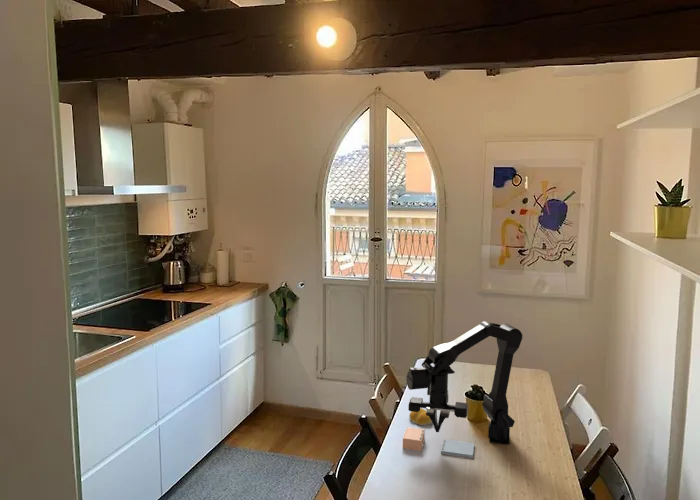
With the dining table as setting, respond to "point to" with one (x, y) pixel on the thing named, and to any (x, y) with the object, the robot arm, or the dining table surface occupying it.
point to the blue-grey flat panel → (457, 448)
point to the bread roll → (420, 417)
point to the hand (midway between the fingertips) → (437, 431)
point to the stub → (413, 438)
